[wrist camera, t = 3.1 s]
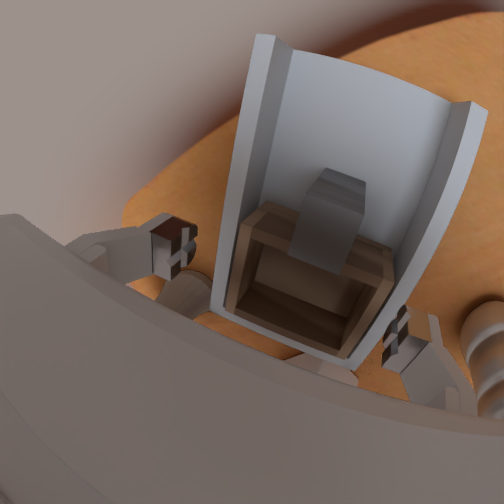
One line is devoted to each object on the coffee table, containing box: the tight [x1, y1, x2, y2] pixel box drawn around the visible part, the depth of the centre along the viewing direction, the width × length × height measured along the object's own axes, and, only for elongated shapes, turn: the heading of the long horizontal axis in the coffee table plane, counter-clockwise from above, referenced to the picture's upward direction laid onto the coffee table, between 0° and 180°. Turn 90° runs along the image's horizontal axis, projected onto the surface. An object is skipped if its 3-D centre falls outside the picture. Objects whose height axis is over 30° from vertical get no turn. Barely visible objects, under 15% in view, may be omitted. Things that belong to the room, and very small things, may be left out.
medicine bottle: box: [284, 353, 358, 387], centre depth 25 cm, size 7×7×12 cm
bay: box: [209, 34, 488, 371], centre depth 19 cm, size 22×14×5 cm, turn 169°
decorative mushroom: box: [155, 270, 213, 320], centre depth 25 cm, size 10×9×15 cm
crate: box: [225, 168, 395, 360], centre depth 19 cm, size 12×10×7 cm
